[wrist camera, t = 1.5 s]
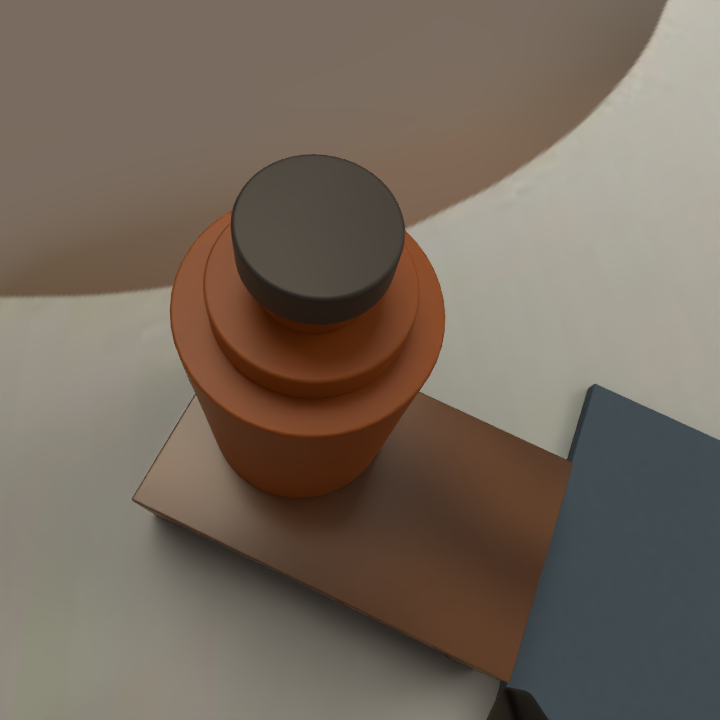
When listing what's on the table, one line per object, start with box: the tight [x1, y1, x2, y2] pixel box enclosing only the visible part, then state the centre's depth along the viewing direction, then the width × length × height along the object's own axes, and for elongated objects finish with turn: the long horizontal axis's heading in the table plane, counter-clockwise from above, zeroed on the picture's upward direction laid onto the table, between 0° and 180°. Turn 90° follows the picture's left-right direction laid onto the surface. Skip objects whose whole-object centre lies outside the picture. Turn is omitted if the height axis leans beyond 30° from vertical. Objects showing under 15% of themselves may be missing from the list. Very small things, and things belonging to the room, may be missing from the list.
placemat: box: [496, 384, 720, 720], centre depth 22 cm, size 15×12×1 cm
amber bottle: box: [170, 154, 445, 498], centre depth 15 cm, size 6×6×11 cm
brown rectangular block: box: [132, 392, 573, 683], centre depth 21 cm, size 8×13×4 cm, turn 66°
